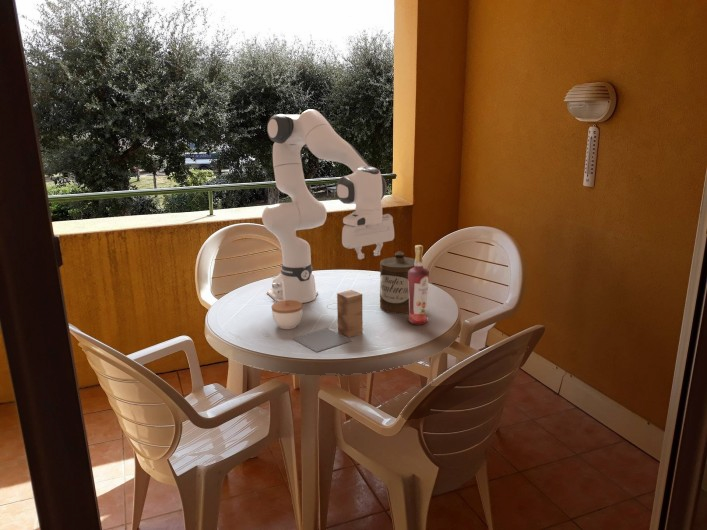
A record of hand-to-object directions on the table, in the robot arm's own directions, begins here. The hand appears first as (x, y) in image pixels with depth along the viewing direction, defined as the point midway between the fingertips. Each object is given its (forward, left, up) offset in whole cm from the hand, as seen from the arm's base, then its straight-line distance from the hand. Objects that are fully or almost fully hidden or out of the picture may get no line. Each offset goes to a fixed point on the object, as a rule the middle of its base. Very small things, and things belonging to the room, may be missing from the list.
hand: (369, 257), depth 188 cm
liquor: (+8, +16, -25) cm, 31 cm away
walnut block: (0, -8, -25) cm, 26 cm away
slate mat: (-1, -19, -25) cm, 32 cm away
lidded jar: (-19, -21, -25) cm, 38 cm away
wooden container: (-8, +22, -25) cm, 34 cm away
